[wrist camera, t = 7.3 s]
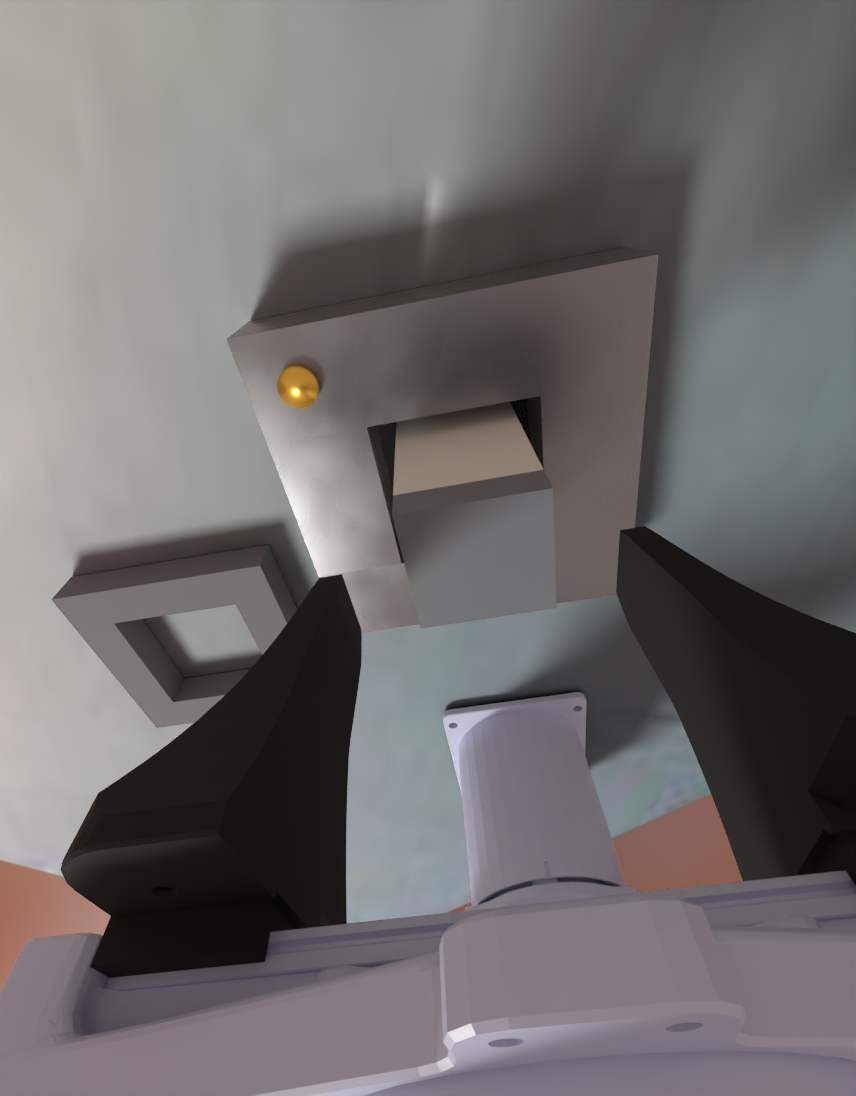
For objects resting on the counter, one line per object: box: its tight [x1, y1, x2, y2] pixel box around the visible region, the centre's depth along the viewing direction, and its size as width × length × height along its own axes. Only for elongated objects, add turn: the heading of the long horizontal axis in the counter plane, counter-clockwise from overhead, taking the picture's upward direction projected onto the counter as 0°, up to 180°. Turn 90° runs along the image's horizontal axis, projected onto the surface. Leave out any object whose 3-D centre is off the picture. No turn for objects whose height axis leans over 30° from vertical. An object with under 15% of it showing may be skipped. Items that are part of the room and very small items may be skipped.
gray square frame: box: [52, 544, 297, 728], centre depth 23 cm, size 9×9×2 cm
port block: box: [227, 247, 659, 633], centre depth 18 cm, size 12×12×3 cm
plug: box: [392, 402, 556, 628], centre depth 16 cm, size 4×4×7 cm
